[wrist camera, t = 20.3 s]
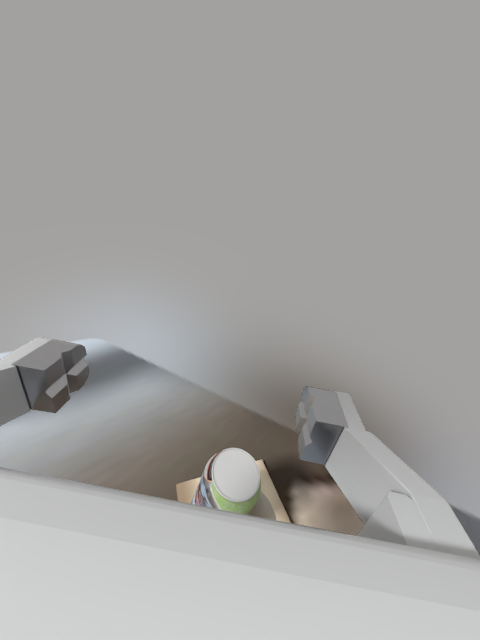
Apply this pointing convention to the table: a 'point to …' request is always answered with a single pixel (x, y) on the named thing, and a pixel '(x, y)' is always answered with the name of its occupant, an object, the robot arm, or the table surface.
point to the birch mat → (264, 507)
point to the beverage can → (229, 482)
